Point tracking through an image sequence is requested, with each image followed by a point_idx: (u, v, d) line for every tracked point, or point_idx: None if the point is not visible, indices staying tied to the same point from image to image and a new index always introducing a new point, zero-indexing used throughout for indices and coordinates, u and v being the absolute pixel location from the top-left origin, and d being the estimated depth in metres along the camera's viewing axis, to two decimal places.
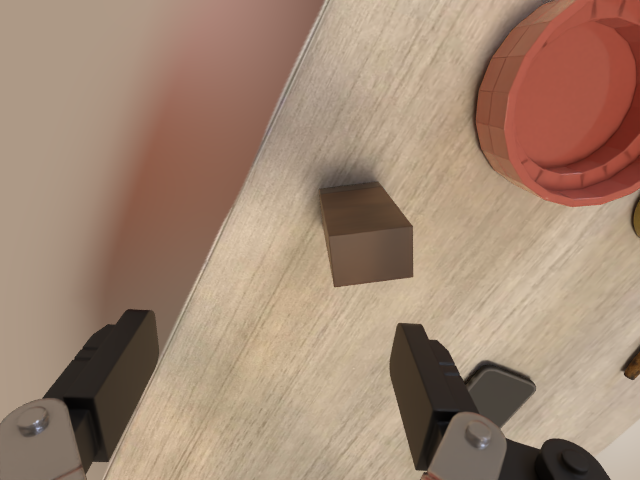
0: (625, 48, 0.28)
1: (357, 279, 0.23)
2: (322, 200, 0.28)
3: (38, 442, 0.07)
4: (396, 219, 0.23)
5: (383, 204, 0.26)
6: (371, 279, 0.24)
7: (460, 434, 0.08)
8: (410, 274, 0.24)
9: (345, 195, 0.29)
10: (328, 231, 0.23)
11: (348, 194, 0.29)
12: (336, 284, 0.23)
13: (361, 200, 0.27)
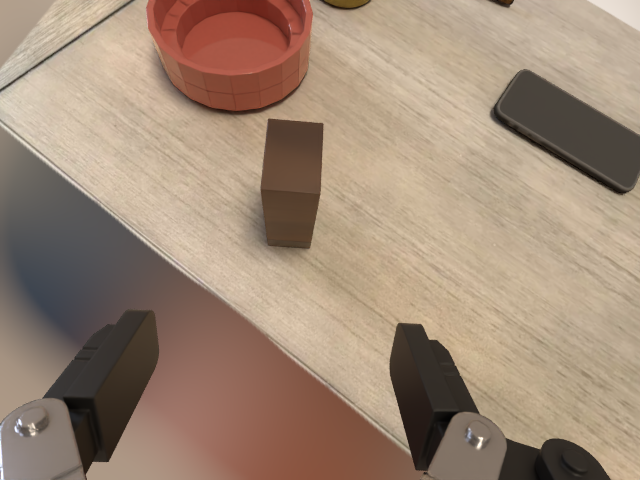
0: (210, 18, 0.38)
1: (315, 171, 0.23)
2: (266, 230, 0.28)
3: (38, 443, 0.07)
4: None
5: None
6: (317, 158, 0.23)
7: (460, 434, 0.08)
8: (319, 125, 0.24)
9: None
10: (261, 194, 0.23)
11: None
12: (316, 191, 0.22)
13: None
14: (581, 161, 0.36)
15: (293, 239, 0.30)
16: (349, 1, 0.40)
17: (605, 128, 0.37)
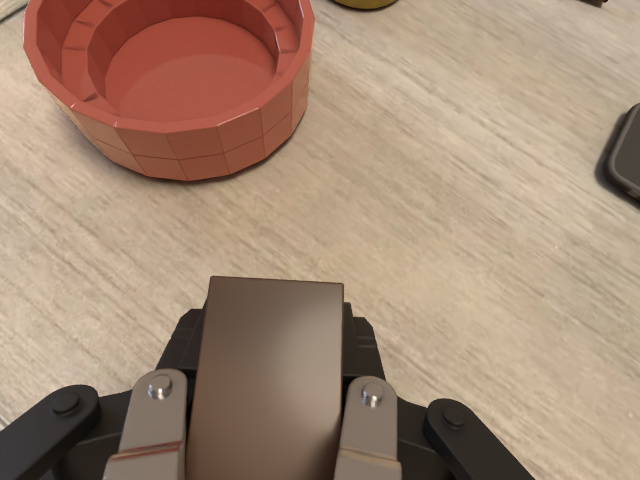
0: (154, 27, 0.25)
1: (326, 429, 0.09)
2: None
3: (158, 407, 0.08)
4: None
5: None
6: (332, 389, 0.09)
7: (355, 394, 0.09)
8: (334, 289, 0.10)
9: None
10: None
11: None
12: None
13: None
14: None
15: None
16: None
17: None
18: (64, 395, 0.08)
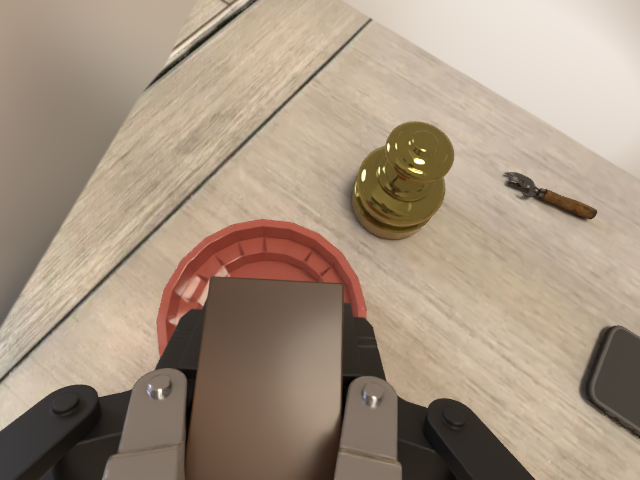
0: (233, 274, 0.31)
1: (327, 429, 0.09)
2: None
3: (157, 408, 0.08)
4: None
5: None
6: (332, 389, 0.09)
7: (355, 394, 0.09)
8: (334, 289, 0.10)
9: None
10: None
11: None
12: None
13: None
14: None
15: None
16: (400, 236, 0.33)
17: None
18: (63, 395, 0.08)
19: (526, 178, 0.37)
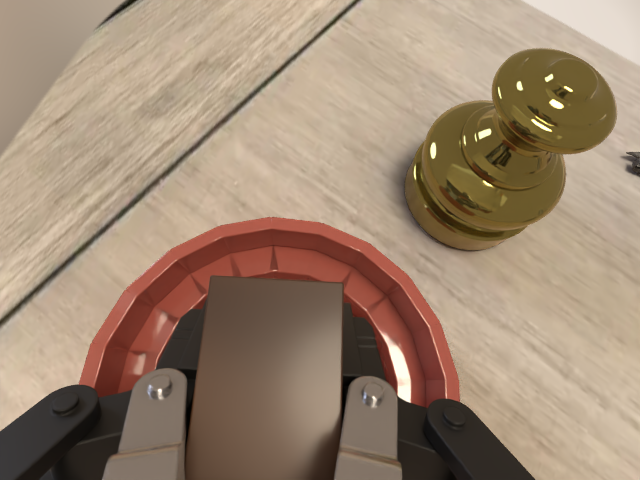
0: None
1: (327, 428, 0.09)
2: None
3: (157, 407, 0.08)
4: None
5: None
6: (332, 388, 0.09)
7: (355, 394, 0.09)
8: (334, 288, 0.10)
9: None
10: None
11: None
12: None
13: None
14: None
15: None
16: (484, 246, 0.21)
17: None
18: (64, 395, 0.08)
19: None
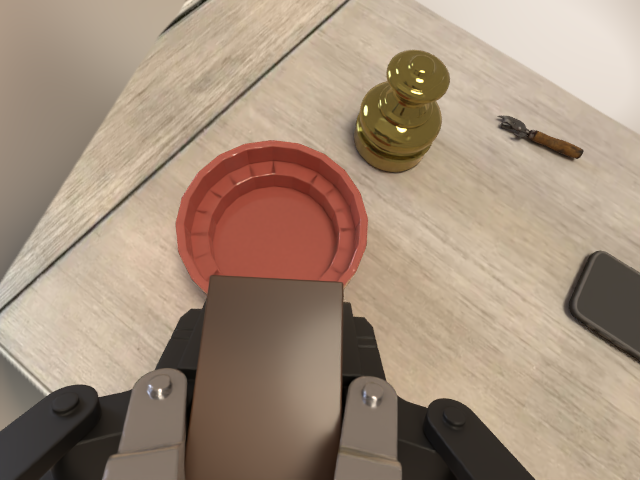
0: (244, 197, 0.34)
1: (326, 427, 0.09)
2: None
3: (157, 408, 0.08)
4: None
5: None
6: (332, 388, 0.09)
7: (355, 394, 0.09)
8: (334, 288, 0.10)
9: None
10: None
11: None
12: None
13: None
14: None
15: None
16: (399, 168, 0.36)
17: None
18: (64, 395, 0.08)
19: (518, 121, 0.39)
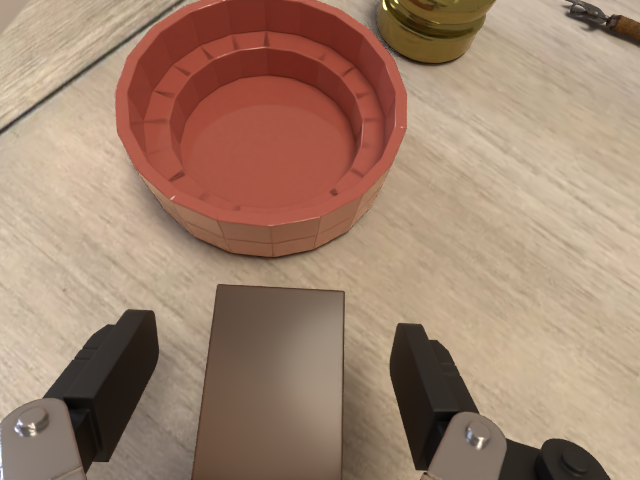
0: (225, 88, 0.24)
1: (329, 430, 0.09)
2: None
3: (37, 443, 0.07)
4: None
5: None
6: (334, 392, 0.10)
7: (460, 434, 0.08)
8: (335, 297, 0.10)
9: None
10: None
11: None
12: None
13: None
14: None
15: None
16: (440, 54, 0.26)
17: None
18: None
19: (592, 7, 0.30)
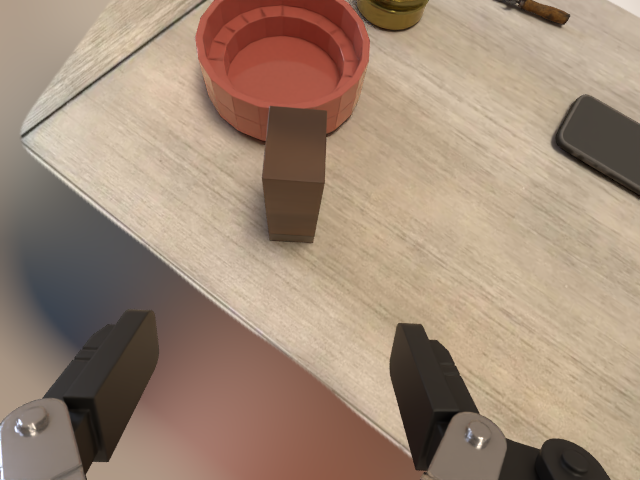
0: (255, 43, 0.36)
1: (319, 159, 0.22)
2: None
3: (37, 443, 0.07)
4: None
5: None
6: (321, 146, 0.22)
7: (460, 434, 0.08)
8: (323, 112, 0.23)
9: None
10: (263, 184, 0.22)
11: None
12: (321, 180, 0.21)
13: None
14: None
15: (296, 233, 0.29)
16: (398, 23, 0.38)
17: None
18: None
19: None
